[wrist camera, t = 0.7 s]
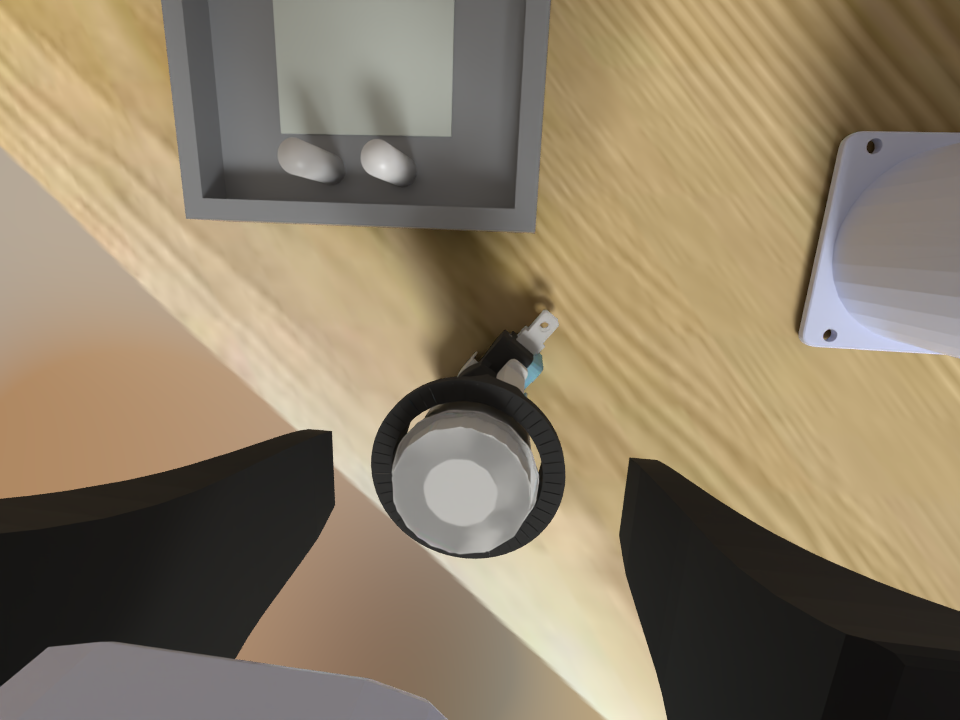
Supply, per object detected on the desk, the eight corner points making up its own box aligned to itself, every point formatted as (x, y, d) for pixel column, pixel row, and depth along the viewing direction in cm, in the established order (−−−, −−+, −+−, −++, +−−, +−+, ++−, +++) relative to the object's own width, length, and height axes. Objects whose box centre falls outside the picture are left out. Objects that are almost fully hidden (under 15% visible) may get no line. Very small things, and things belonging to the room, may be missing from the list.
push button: (506, 273, 20) (480, 303, 10) (598, 352, 20) (654, 451, 11) (414, 384, 22) (319, 496, 12) (501, 454, 22) (474, 618, 13)
